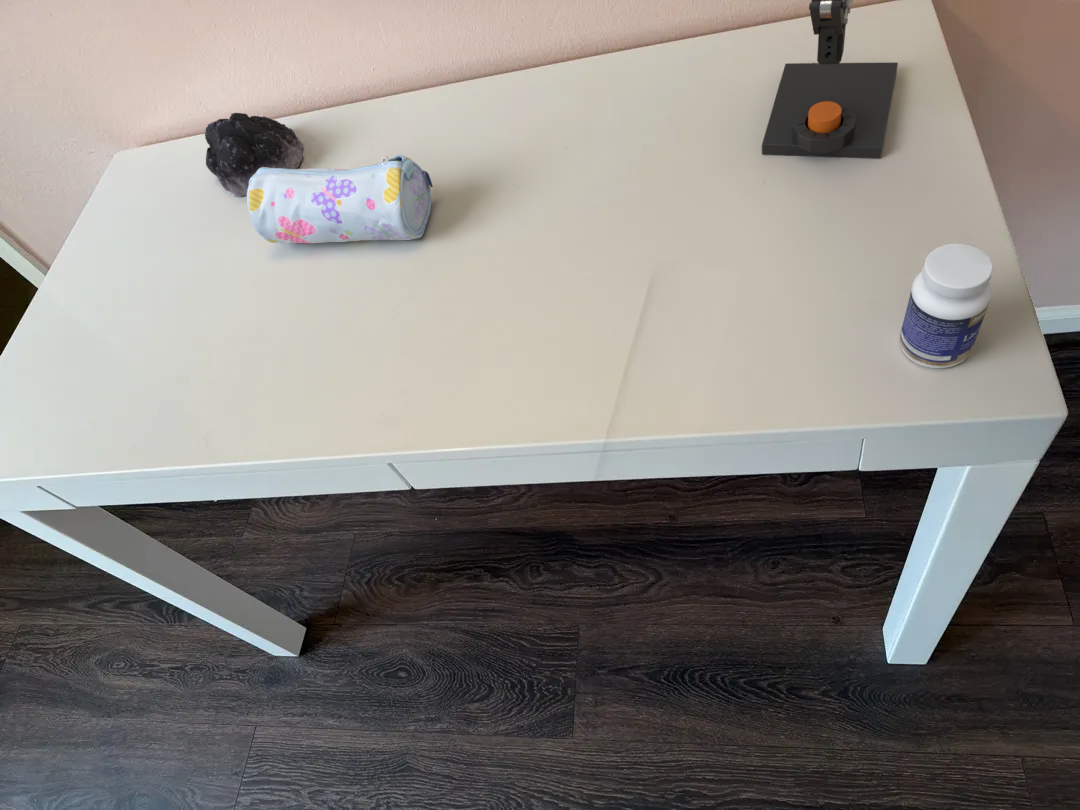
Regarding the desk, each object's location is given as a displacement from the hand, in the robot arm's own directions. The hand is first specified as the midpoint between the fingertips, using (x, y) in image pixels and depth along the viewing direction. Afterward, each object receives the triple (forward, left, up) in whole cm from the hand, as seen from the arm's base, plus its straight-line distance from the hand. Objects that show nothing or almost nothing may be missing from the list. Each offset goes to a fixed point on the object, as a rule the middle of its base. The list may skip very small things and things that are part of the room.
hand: (830, 59), depth 74 cm
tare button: (0, 0, -8) cm, 7 cm away
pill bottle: (-13, +25, -10) cm, 30 cm away
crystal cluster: (+72, +8, -10) cm, 73 cm away
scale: (0, -5, -10) cm, 11 cm away
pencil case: (+51, +18, -10) cm, 55 cm away
